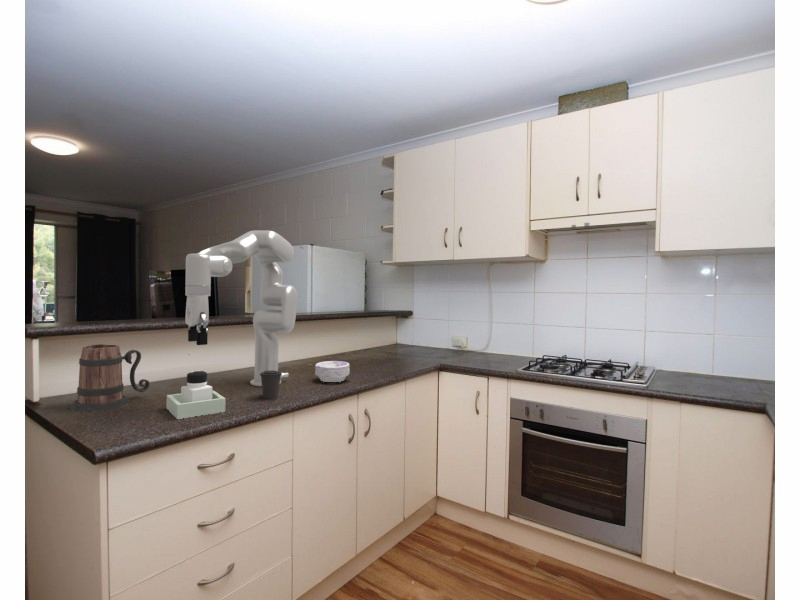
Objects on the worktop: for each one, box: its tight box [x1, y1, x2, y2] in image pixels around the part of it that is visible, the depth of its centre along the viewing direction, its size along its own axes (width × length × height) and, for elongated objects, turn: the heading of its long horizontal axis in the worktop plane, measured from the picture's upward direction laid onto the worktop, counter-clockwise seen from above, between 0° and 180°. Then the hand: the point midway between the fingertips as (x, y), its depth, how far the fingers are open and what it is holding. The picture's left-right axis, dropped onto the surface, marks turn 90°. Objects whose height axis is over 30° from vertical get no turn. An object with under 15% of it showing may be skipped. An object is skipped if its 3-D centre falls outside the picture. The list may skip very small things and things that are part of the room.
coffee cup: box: [260, 370, 283, 400], centre depth 160 cm, size 8×8×10 cm
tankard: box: [69, 343, 150, 413], centre depth 147 cm, size 24×17×20 cm
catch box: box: [166, 390, 227, 420], centre depth 142 cm, size 14×14×4 cm
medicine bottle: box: [180, 370, 214, 404], centre depth 142 cm, size 7×7×12 cm
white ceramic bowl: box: [314, 360, 351, 383], centre depth 191 cm, size 15×15×8 cm
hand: (197, 342), depth 142 cm, fingers open, 9 cm apart
